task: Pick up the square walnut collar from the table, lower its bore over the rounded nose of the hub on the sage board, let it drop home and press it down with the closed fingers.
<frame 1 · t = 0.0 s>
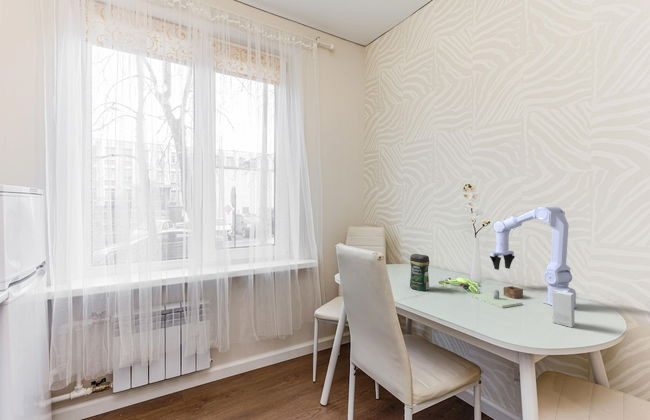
hand: (502, 268, 157), 10 cm above the table, tool pointing down, fingers open, 7 cm apart
coffee jar: (419, 289, 156), on the table
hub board: (496, 300, 137), on the table
collar: (513, 296, 143), on the table
skincare box: (562, 324, 110), on the table
figurine: (460, 289, 156), on the table
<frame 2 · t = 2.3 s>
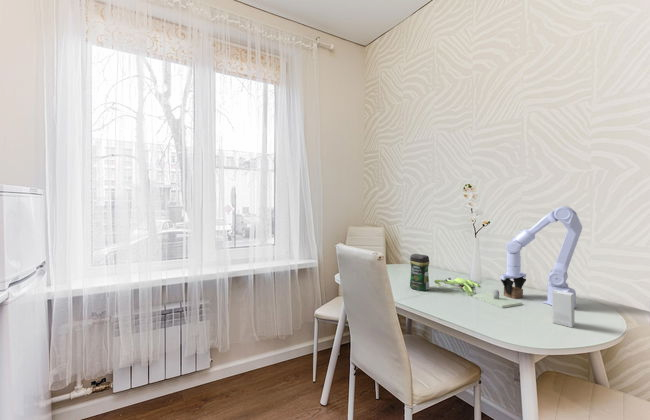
hand: (513, 293, 142), 2 cm above the table, tool pointing down, fingers closed on collar, 6 cm apart
collar: (513, 296, 143), on the table, touching gripper
figurine: (457, 289, 156), on the table
everything else where it was.
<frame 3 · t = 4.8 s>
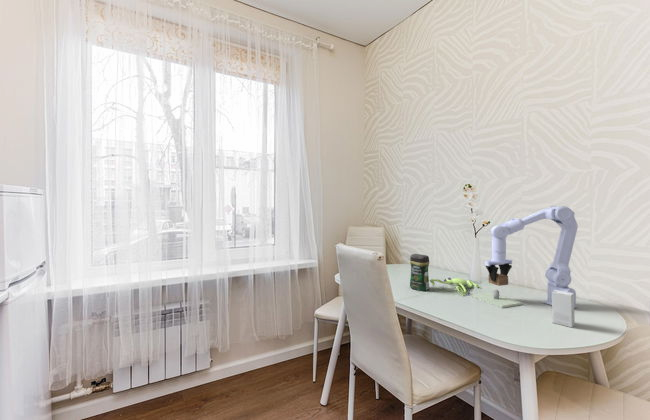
hand: (498, 280, 137), 9 cm above the table, tool pointing down, fingers closed on collar, 6 cm apart
collar: (498, 283, 137), point 8 cm above the table, touching gripper
figurine: (454, 289, 156), on the table
everything else where it was.
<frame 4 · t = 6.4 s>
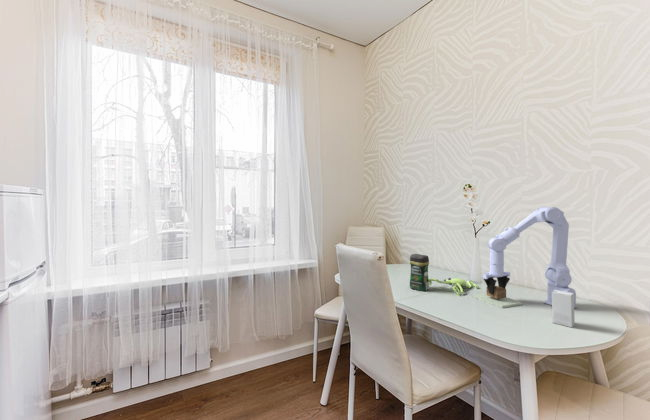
hand: (496, 292, 136), 4 cm above the table, tool pointing down, fingers closed on collar, 6 cm apart
collar: (496, 296, 137), point 2 cm above the table, touching gripper
when the fingers open (4 cm above the table, at t = 7.3 s): collar drops 1 cm, resting on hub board.
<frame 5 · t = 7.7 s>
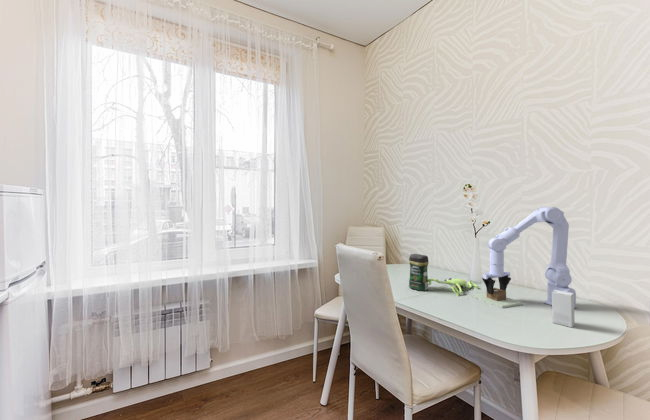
hand: (496, 292, 136), 4 cm above the table, tool pointing down, fingers open, 7 cm apart
collar: (496, 298, 137), point 1 cm above the table, touching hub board
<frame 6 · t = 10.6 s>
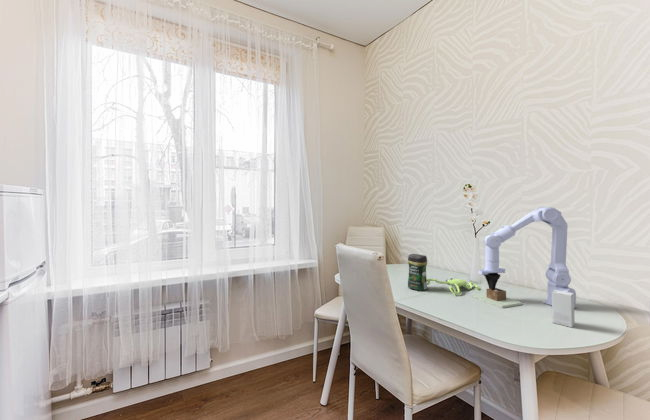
hand: (491, 288, 139), 5 cm above the table, tool pointing down, fingers closed, pressing on collar
collar: (496, 298, 137), point 1 cm above the table, touching gripper, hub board
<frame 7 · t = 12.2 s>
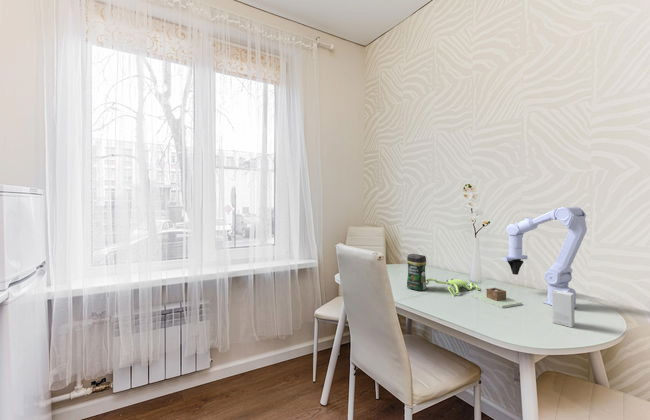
hand: (515, 274, 149), 9 cm above the table, tool pointing down, fingers closed
collar: (496, 298, 137), point 1 cm above the table, touching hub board
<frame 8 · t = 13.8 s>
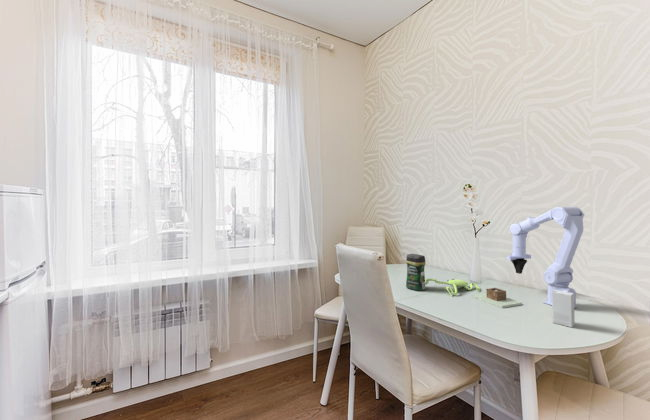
hand: (518, 273, 150), 9 cm above the table, tool pointing down, fingers closed
at the end: collar 0.1 cm off-centre on the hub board, point 1.0 cm above the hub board's base; collar tilted 0°; the gripper is holding nothing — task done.
